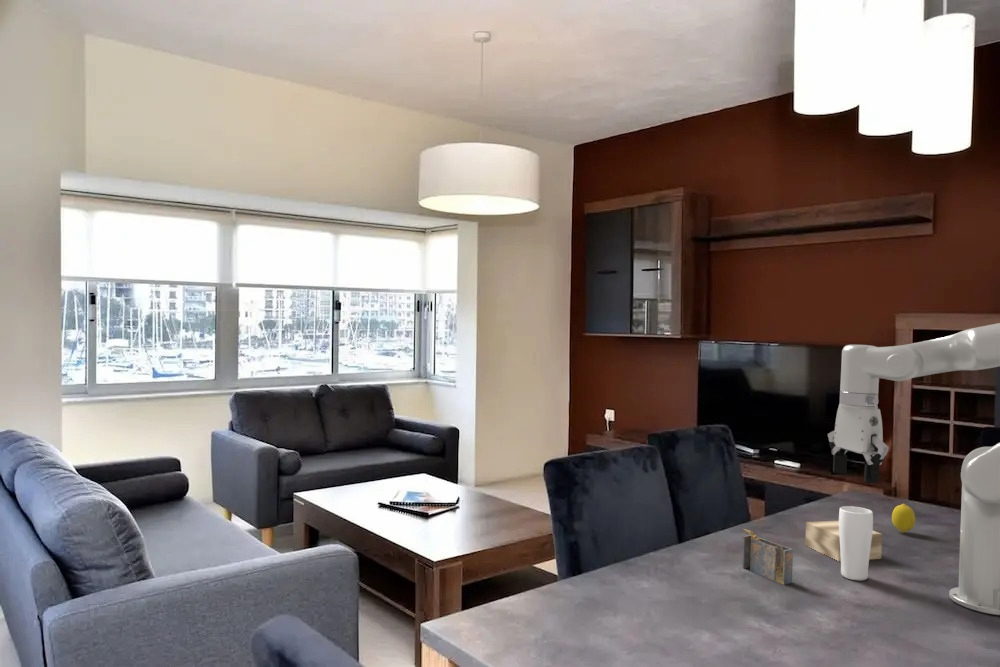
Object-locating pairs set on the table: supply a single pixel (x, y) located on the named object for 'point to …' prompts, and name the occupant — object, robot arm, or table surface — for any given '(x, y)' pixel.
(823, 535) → the wooden block
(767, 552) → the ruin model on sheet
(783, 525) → the table surface
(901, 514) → the lemon
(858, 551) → the drinking glass
